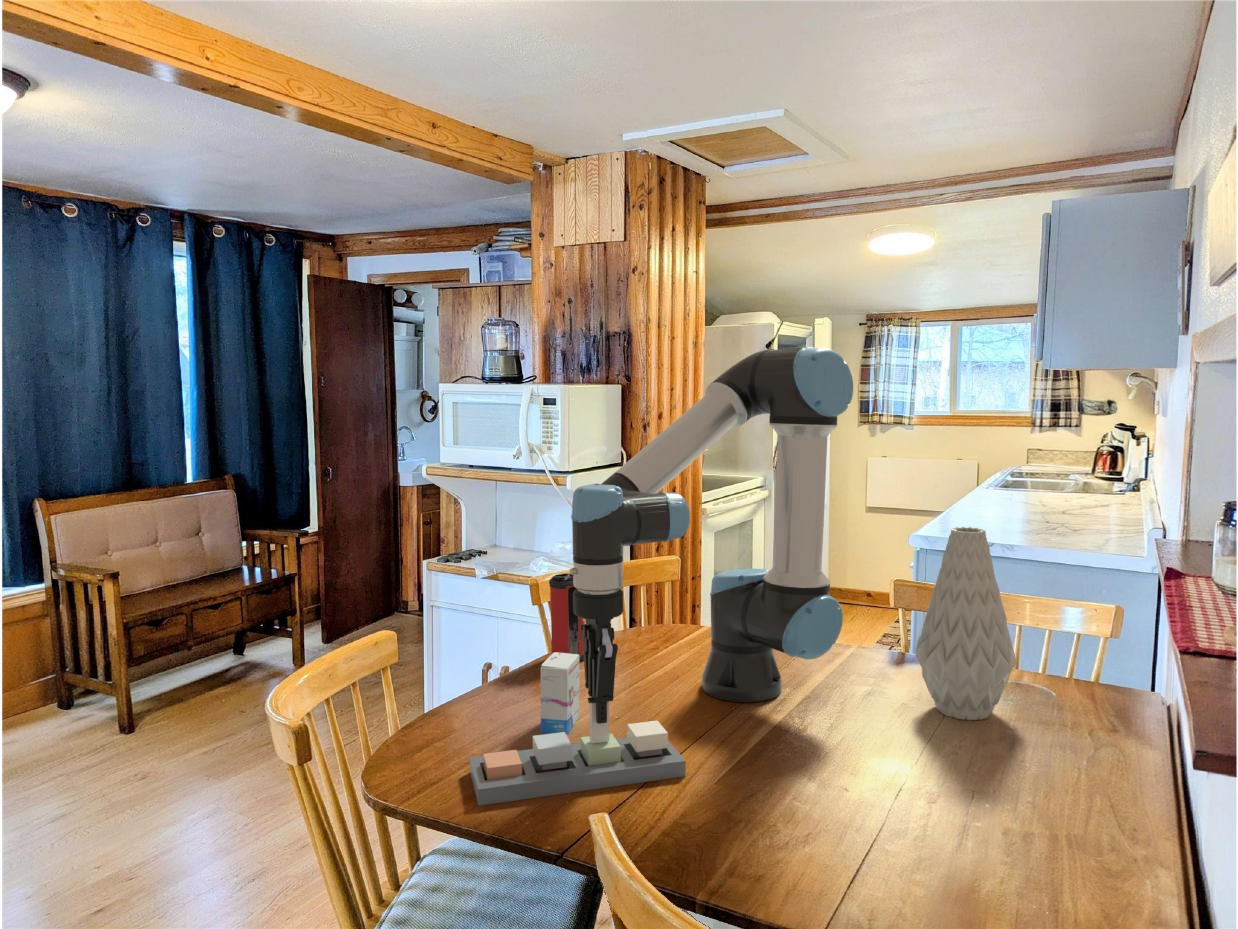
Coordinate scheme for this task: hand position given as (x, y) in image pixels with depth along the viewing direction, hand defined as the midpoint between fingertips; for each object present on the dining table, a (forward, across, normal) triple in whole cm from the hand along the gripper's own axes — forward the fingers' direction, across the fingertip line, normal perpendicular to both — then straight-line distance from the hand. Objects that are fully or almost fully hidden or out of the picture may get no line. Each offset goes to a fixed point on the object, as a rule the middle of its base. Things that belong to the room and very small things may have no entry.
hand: (599, 740), depth 131 cm
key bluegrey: (+3, 0, -7) cm, 8 cm away
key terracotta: (+5, 0, -15) cm, 16 cm away
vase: (+5, -4, +68) cm, 68 cm away
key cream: (+3, 0, +8) cm, 8 cm away
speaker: (+5, -54, +7) cm, 55 cm away
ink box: (+5, -19, -2) cm, 20 cm away
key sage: (+4, 0, 0) cm, 4 cm away
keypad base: (+5, 0, -4) cm, 6 cm away
